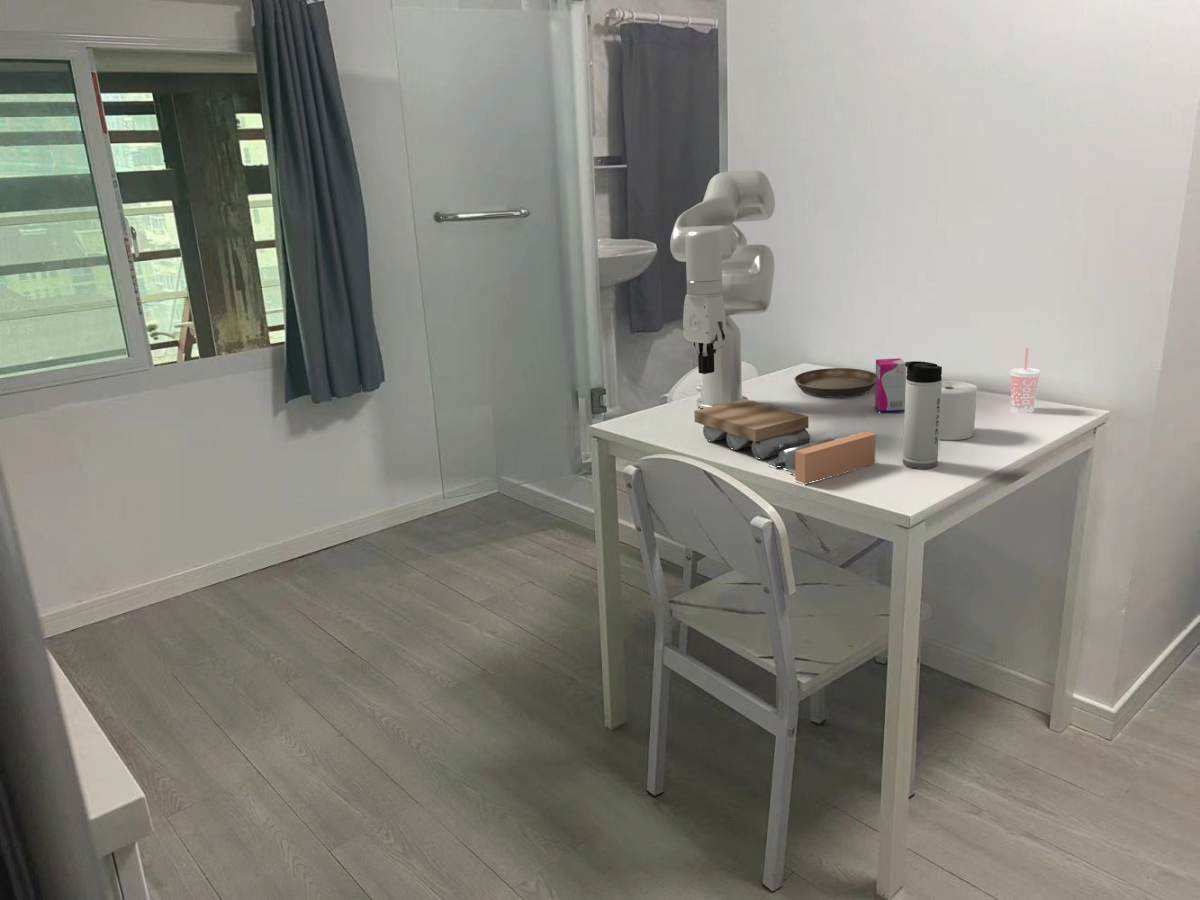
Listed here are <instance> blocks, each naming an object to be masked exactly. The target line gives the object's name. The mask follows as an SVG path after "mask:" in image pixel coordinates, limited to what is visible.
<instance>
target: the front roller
mask: <svg viewBox="0 0 1200 900" xmlns="http://www.w3.org/2000/svg"><path fill="white" fill-rule="evenodd" d="M808 443H811V437H810V432H808V430H807V429H801V430H797V431H794V432H790V433H786V434H782V435H778V436H775V437H771V438H767V439H763V440H759V441H757V442H754V441H753V443H752V446H751V452H752V454H753V456H754V457H755V458H756V457H757V458H760V459H759V460H763V459H766V458H767V457H768V458H771V457H774V456H779V453H780V452H781V451H783V450H786V449H790V448H793V447H797V446H801V445H804V444H808ZM757 458H756V459H757Z"/></svg>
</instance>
